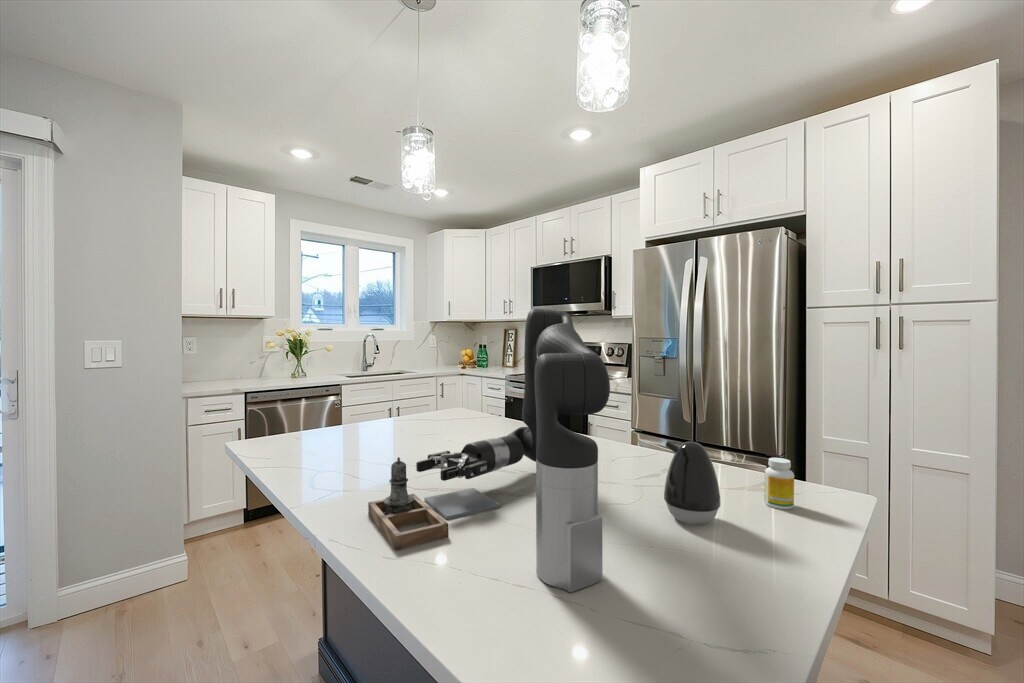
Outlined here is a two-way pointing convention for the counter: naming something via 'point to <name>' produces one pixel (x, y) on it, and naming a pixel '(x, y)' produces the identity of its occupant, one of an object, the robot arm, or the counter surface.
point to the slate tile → (461, 503)
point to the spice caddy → (415, 516)
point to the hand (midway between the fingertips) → (429, 471)
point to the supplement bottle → (779, 484)
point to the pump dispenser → (691, 485)
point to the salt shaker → (398, 490)
